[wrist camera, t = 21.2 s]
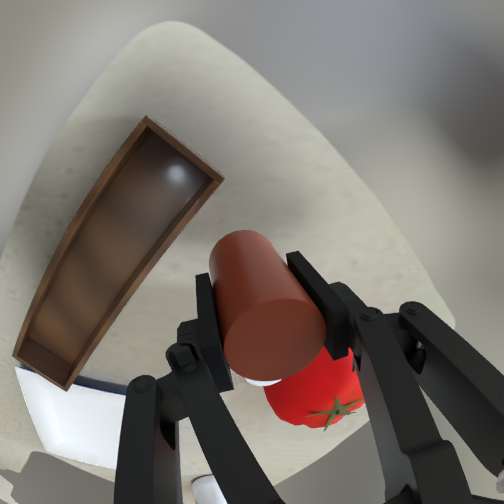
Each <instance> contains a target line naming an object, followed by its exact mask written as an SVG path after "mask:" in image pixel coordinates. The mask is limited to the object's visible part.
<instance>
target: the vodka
mask: <svg viewBox="0 0 504 504" xmlns="http://www.w3.org/2000/svg"><path fill="white" fill-rule="evenodd" d="M192 492H193V494H194V497H195V501H196V504H227V502H226V500H225V498H224V496H223V494H222V492H221V490H220V488H219V486H218V484H217V482H216V480H215V477H214V475H208V476H204V477H201V478H199V479H197V480H195V481H194V482H193V484H192Z"/></svg>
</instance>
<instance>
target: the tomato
mask: <svg viewBox="0 0 504 504" xmlns="http://www.w3.org/2000/svg"><path fill="white" fill-rule="evenodd" d="M352 363H353V352H352V350H351V349H350V348H349V354H348V356H346V357H344V358H341V359H338V360H335V361H333V359H332V358H331V356H330V355H329V353H328V351H327V350H326V348H325V346H324V345H323V347H322V350H321V351H320V353H319V354H318V356H317V357H316V358H315V359H314V360H313V361H312V363H310V364H309V365H308V366H307V367H306V368H304V369H303V370H301V371H300V372H298V373H296V374H294V375H292V376H290V377H287V378H284V379H281V380H280V381H278V382H277V383H274V384H272V385H267V386H263V387H264V391H265V395H266V398H267V400H268V402H269V404H270V406H271V407H272V409H273V411H274V412H275V414H276V415H277V416H278V417H279V418H280V419H281V420H283V421H286V422H288V423H291V424H293V425H303V424H304V425H306V426H308V427H310V428H319V427H325V429H324V431H325V430H326V429H327V427H328V426H329V425H332V424H335V423H337V422H338V421H339V420H340V419H341V418H342V417H343V416H345V415H349V414H351V411H353V410H355V409H358V408H360V407H361V406H362V405H363V404H364V403H365V400H364V397H363V393H362V390H361V386H360V383H359V379H358V376H357V373H356V369H355V372H352ZM352 413H356V412H352Z"/></svg>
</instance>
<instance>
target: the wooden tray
mask: <svg viewBox="0 0 504 504" xmlns="http://www.w3.org/2000/svg"><path fill="white" fill-rule="evenodd" d="M224 180H225V178H224V177H223V176H222V174H221V173H220V172H219V171H218V170H217V169H215V168H214V167H213V166H212V165H210V164H209V163H208V162H207V161H206V160H204V159H203V158H202V157H201V156H199V155H198V154H197V153H196V152H195V151H193V150H192V149H191V148H190V147H188V146H187V145H186V144H185V143H183V142H182V141H181V140H180V139H178V138H177V137H176V136H175V135H173V134H172V133H171V132H170V131H168V130H167V129H166V128H165V127H163V126H162V125H161V124H159V123H158V122H157V121H156V120H154V119H153V118H151V117H149V116H145V117H144V118H143V119H142V121H141V122H140V123H139V124H138V126H137V127H136V128H135V129H134V131H133V132H132V133H131V134H130V136H129V137H128V138H127V140H126V141H125V142H124V144H123V145H122V146H121V148H120V149H119V150H118V152H117V153H116V154H115V156H114V157H113V159H112V160H111V161H110V163H109V164H108V166H107V167H106V169H105V170H104V171H103V173H102V174H101V176H100V177H99V179H98V180H97V182H96V183H95V185H94V186H93V188H92V189H91V191H90V193H89V194H88V196H87V197H86V199H85V201H84V202H83V204H82V205H81V207H80V209H79V210H78V212H77V214H76V215H75V217H74V219H73V221H72V222H71V224H70V226H69V228H68V229H67V231H66V233H65V235H64V237H63V238H62V240H61V242H60V244H59V246H58V248H57V250H56V252H55V254H54V255H53V257H52V259H51V261H50V263H49V265H48V268H47V270H46V272H45V274H44V276H43V278H42V280H41V282H40V285H39V287H38V289H37V291H36V294H35V296H34V298H33V300H32V303H31V305H30V308H29V310H28V313H27V315H26V318H25V320H24V323H23V325H22V328H21V331H20V334H19V336H18V339H17V342H16V345H15V348H14V351H13V354H12V356H13V357H14V358H16V359H17V360H18V361H20V362H21V363H23V364H24V365H25V366H27V367H28V368H30V369H31V370H33V371H34V372H35V373H37V374H38V375H40V376H42V377H43V378H45V379H46V380H48V381H49V382H51V383H52V384H54V385H56V386H57V387H59V388H61V389H62V390H64V391H66V392H67V391H68V390H69V388H70V387H71V385H72V384H73V382H74V380H75V379H76V377H77V376H78V374H79V373H80V371H81V369H82V368H83V366H84V365H85V363H86V362H87V360H88V359H89V357H90V356H91V354H92V353H93V351H94V350H95V348H96V347H97V345H98V344H99V342H100V341H101V339H102V338H103V336H104V335H105V333H106V332H107V331H108V329H109V328H110V326H111V325H112V323H113V322H114V320H115V319H116V318H117V316H118V315H119V313H120V312H121V311H122V309H123V308H124V306H125V305H126V304H127V302H128V301H129V299H130V298H131V297H132V295H133V294H134V293H135V291H136V290H137V289H138V287H139V286H140V284H141V283H142V282H143V280H144V279H145V278H146V276H147V275H148V274H149V272H150V271H151V270H152V268H153V267H154V266H155V265H156V263H157V262H158V261H159V259H160V258H161V257H162V255H163V254H164V253H165V252H166V250H167V249H168V248H169V246H170V245H171V244H172V243H173V241H174V240H175V239H176V238H177V236H178V235H179V234H180V233H181V231H182V230H183V229H184V228H185V226H186V225H187V224H188V223H189V221H190V220H191V219H192V218H193V217H194V215H195V214H196V213H197V212H198V210H199V209H200V208H201V207H202V206H203V204H204V203H205V202H206V201H207V200H208V198H209V197H210V196H211V195H212V194H213V193H214V191H215V190H216V189H217V188H218V187H219V186H220V184H221V183H222V182H223V181H224Z"/></svg>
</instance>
